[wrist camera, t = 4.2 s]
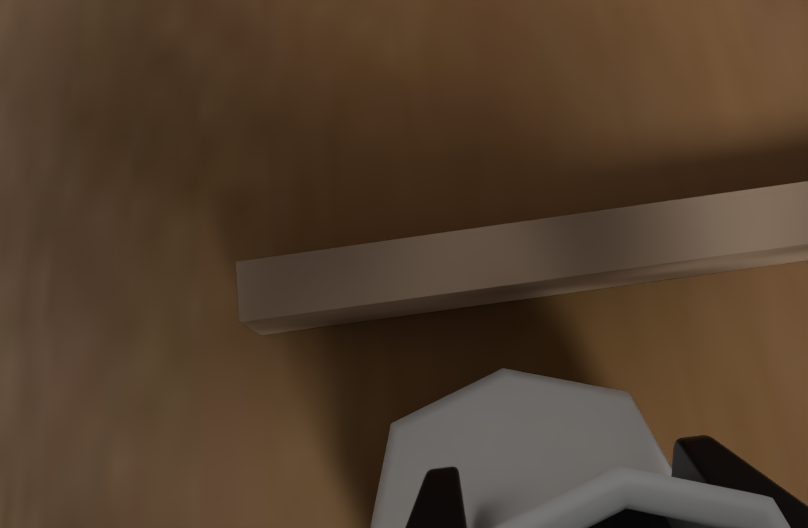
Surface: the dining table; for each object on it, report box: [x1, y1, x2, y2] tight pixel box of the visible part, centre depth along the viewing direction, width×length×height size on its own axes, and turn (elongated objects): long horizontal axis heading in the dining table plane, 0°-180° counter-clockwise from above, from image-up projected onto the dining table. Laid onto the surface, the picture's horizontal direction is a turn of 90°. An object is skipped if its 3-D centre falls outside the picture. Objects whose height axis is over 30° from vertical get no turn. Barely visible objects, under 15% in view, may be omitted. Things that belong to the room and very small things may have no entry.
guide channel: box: [235, 181, 808, 335], centre depth 16 cm, size 18×14×2 cm
